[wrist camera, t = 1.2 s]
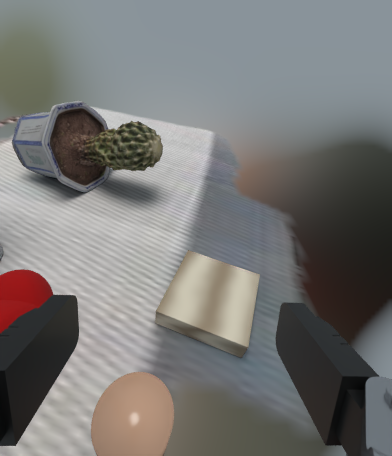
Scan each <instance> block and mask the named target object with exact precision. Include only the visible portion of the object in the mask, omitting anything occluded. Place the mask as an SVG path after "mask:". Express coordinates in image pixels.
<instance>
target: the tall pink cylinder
mask: <svg viewBox="0 0 392 456" xmlns="http://www.w3.org/2000/svg"><path fill="white" fill-rule="evenodd" d="M173 421H174V407H173V401H172V398H171V395H170V392H169V390H168V389H167V387H166V386H165V384H164V383H163V382H162V381H161V380H160V379H159V378H157V377H156V376H154V375H152V374H149V373H145V372H134V373H129V374H127V375H124V376H122V377H120V378H119V379H117V380H116V381H114V382H113V383H112V384H111V385H110V386H109V387H108V388H107V389H106V390H105V392H104V393H103V394H102V396H101V397H100V399H99V401H98V403H97V405H96V408H95V410H94V414H93V418H92V424H91V437H92V443H93V446H94V449H95V452H96V454H97V456H164V453H165V450H166V447H167V444H168V441H169V437H170V435H171V431H172V427H173Z"/></svg>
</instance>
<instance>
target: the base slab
mask: <svg viewBox="0 0 392 456" xmlns="http://www.w3.org/2000/svg"><path fill="white" fill-rule="evenodd" d="M259 276H260V275H259V274H256V273H253V272H250V271H247V270H244V269H241V268H238V267H235V266H233V265H230V264H227V263H224V262H221V261H218V260H215V259H212V258H209V257H206V256H203V255H200V254H197V253H194V252H191V251H189V250H188V252H187V254H186V255H185V257H184V259H183V261H182V263H181V265H180V267H179V269H178V271H177V272H176V274H175V276H174V278H173V280H172V282H171V284H170V286H169V288H168V289H167V291H166V293H165V295H164V297H163V299H162V301H161V303H160V305H159V306H158V308H157V310H156V320H155V323H156V324H158V325H161V326H163V327H166V328H168V329H171V330H173V331H176V332H178V333H181V334H183V335H186V336H188V337H191V338H193V339H196V340H198V341H201V342H203V343H206V344H208V345H211V346H213V347H216V348H218V349H220V350H223V351H225V352H228V353H230V354H233V355H235V356H238V357H240V358H242V357H243V355H244V353H245V352H246V350H247V348H248V345H249V339H250V332H251V326H252V320H253V314H254V307H255V301H256V295H257V289H258V282H259Z"/></svg>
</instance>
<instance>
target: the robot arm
mask: <svg viewBox="0 0 392 456" xmlns="http://www.w3.org/2000/svg"><path fill="white" fill-rule="evenodd" d="M2 254H3V249H2V246H1V244H0V259H1V257H2ZM78 337H79V323H78V305H77V298H76V296H74V295H52V296H51V297H50V298H49V299H48V300H47V301H45V302H44V303H43V304H42V305H41V306H40V307H39V308H34V309H32V310H30V311H29V312H27V313H25V314H23V315H21V316H19V317H18V318H17V319H16V320H15V321H14V322H13V323H12V324H10V325H9V326H8V329H5V330H4V331H3V332H1V333H0V446H16V444H17V443H18V441H19V439H20V438H21V436H22V435H23V433H24V431H25V430H26V428H27V426H28V425H29V423H30V421H31V420H32V418H33V417H34V415H35V413H36V412H37V410H38V408H39V407H40V405H41V403H42V402H43V400H44V399H45V397H46V395H47V394H48V392H49V390H50V389H51V387H52V385H53V384H54V382H55V381H56V379H57V377H58V376H59V374H60V372H61V371H62V369H63V367H64V366H65V364H66V363H67V361H68V359H69V358H70V356H71V354H72V353H73V351H74V349H75V347H76V345H77V342H78ZM276 347H277V351H278V354H279V356H280V358H281V360H282V362H283V364H284V366H285V368H286V369H287V371H288V373H289V375H290V377H291V379H292V381H293V383H294V385H295V387H296V389H297V391H298V393H299V395H300V397H301V399H302V401H303V402H304V404H305V406H306V408H307V410H308V412H309V414H310V416H311V418H312V420H313V422H314V424H315V426H316V428H317V430H318V432H319V434H320V436H321V437H322V439H323V441H324V443H325V445H342V446H343V448H344V450H345V451H346V453H347V454H346V456H392V379H388V378H384V377H379V375H377V374H376V373H375V371H374V370H373V369H372V368H371V367H370V366H369V365H368V364H367V363H366V362H365V361H364V360H363V359H362V358H361V357H360V355H358V354H357V352H356V351H355V350H354V349H353V348H352V347H351V346H349V345H348V343H347V342H346V341H345V340H344V339H343V338H342V337H340V334H339V333H338V332H337V331H336V330H335V329H334V328H333V327H332V326H331V325H330V324H328V323H327V322H325V321H324V320H322V319H321V318H319V317H315V316H314V314H313V313H312V312H311V311H310V310H309V309H308V308H307V307H306V306H305V305H304V304H303V303H282V305H281V308H280V314H279V320H278V326H277V332H276Z"/></svg>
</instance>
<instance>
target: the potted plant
mask: <svg viewBox="0 0 392 456" xmlns="http://www.w3.org/2000/svg"><path fill="white" fill-rule="evenodd" d="M12 145H13V148H14V151H15V153H16V154H17V156H18V159H19V160H20V162H21V163H22V165H23V166H24V167H26V168H27V169H29V170H31V171H33V172H36V173H39V174H41V175H44V176H49V177H53V178H57V179H58V180H59V181H60V182H61V183H63V184H64V185H67V186H69V187H71V188H74V189H76V190H78V191H81V192H88V191H90V190H92V189H93V188H95V187H97V186H98V185H100V184H101V183H103V182H104V181H105V180H106V179H107V177H108V174H109V170H110V168H113V170H121V169H126V170H131V171H136V170H142V171H144V170H145V169H146V168H147V167H149V166H150V167H154V164H155V163H157V162H158V161H159V160H160V157H161V155H162V150H163V145H162V143H161V138H160V135H157V134H156V132H155V130H153V129H151V128H149V127H147V126H146V125H144V124H142V123H141V122H133V121H131V122H130V123H126V124H122V125H121V126H120V127H119V128H118V129H117V130H115V129H114V128H113V129H111V130H109V129H108V127H107V124H106V121H105V120H104V119H103V118H102V117H101V115H100V114H98V113H97V112H96V111H95V110H94V109H92V108H91V107H89V106H88V105H86V104H85V103H84V102H81V101H76V102H68V103H62V104H58V105H54V106H53V107H52V109H51V112H50V113H36V114H27V115H23V116H21V117H20V118H19V119H18V122H17V125H16V127H15V132H14V136H13V140H12Z"/></svg>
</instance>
